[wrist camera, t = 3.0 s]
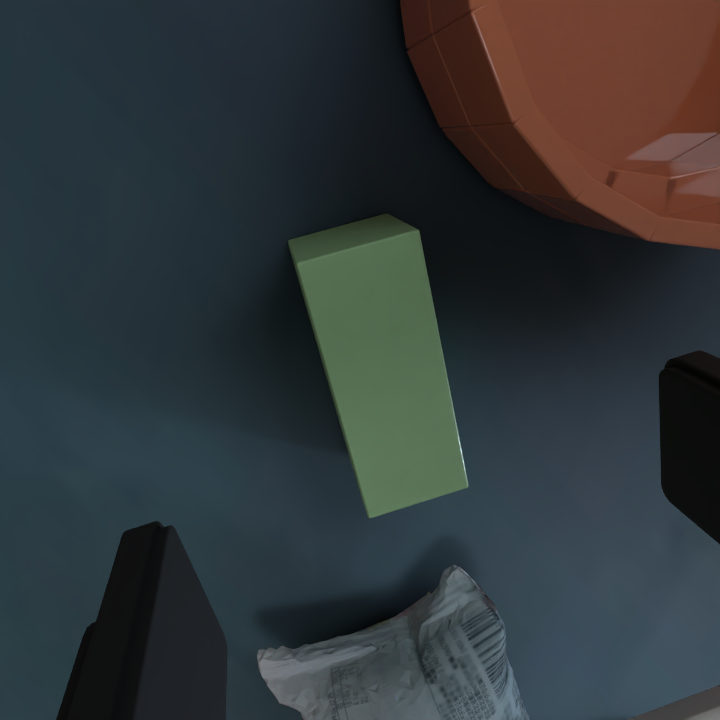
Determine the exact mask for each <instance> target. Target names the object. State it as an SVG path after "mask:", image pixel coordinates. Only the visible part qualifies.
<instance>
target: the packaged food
mask: <svg viewBox="0 0 720 720" xmlns="http://www.w3.org/2000/svg"><path fill="white" fill-rule="evenodd" d="M257 659H258V668H259V671H260V673H261V675H262V678H263V679H264V680H265V682H266V683H267V686H268V687H269V689H270V690H271V691H272V693H273V694H274V695H275V697H276V698H277V700H278V701H279V703H281V704H284V705H286V706H289V707H292V708H294V709H296V710H298V711H299V712H300V713H301V716H302V718H303V720H530V719H529V716H528V714H527V713H526V710H525V706H524V703H523V701H522V699H521V696H520V694H519V689H518V686H517V683H516V680H515V678H514V675H513V669H512V668H511V666H510V663H509V660H508V658H507V654H506V633H505V624H504V622H503V620H502V619H501V617H500V615H499V613H498V611H497V609H496V607H495V605H494V603H493V602H492V601H491V600H490V599H489V598H488V597H487V596H486V595H485V594H484V592H483V591H482V589H481V587H480V586H479V585H478V584H477V583H476V582H475V581H474V580H473V579H472V578H471V577H470V576H469V575H468V574H467V573H466V572H465V571H464V570H463V569H462V568H460V567H458V566H456V565H454V564H453V565H452V566H451V567H449V568H448V569H446V570H444V571H443V574H442V577H441V580H440V583H439V585H438V587H437V588H436V589H435V590H434V591H433V592H432V593H430V591H429V592H427V594H426V596H424V597H423V598H421V599H420V600H418V601H417V602H416V603H414V604H413V605H412V606H410V607H409V608H407V609H406V610H404V611H403V612H401V613H400V614H398V615H397V616H395V617H393V618H391V619H388V620H385V621H383V622H380V623H377V624H374V625H372V626H370V627H368V628H366V629H363V630H358V631H357V632H355V633H353V634H349V635H344V636H337V637H335V638H332V639H329V640H326V641H321V642H317V643H314V644H310V645H309V644H304V645H303V646H301V647H299V648H296V649H290V648H287V647H284V646H281V647H280V648H278V649H277V650H275V649H273V648H271V647H270V648H268V649H267V650H262V649H261V650H259V651H258V654H257Z"/></svg>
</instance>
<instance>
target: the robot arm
mask: <svg viewBox="0 0 720 720" xmlns="http://www.w3.org/2000/svg"><path fill="white" fill-rule="evenodd" d="M659 404H660V449H661V485H662V489H663V492H664V494H665V496H666V497H667V499H668V500H669V501H670V502H671V503H672V504H673V505H674V506H675V507H676V508H677V509H679V510H680V511H681V512H682V513H683V514H685V515H686V516H687V517H688V518H689V519H691V520H692V521H693V522H694V523H695V524H696V525H698V526H699V527H700V528H701V529H702V530H704V531H705V532H706V533H707V534H708V535H709V536H711V537H712V538H713V539H714V540H715V541H717V542H718V543H719V544H720V359H719V358H717V357H715V356H713V355H711V354H709V353H706V352H703V351H695V352H692V353H689V354H686V355H682V356H679V357H676V358H673V359H670V360H669V361H667V363H666V365H665V369H663V370H662V371H661V372H660V374H659ZM226 682H227V646H226V640H225V637H224V633H223V631H222V629H221V627H220V624H219V622H218V620H217V618H216V616H215V614H214V611H213V609H212V607H211V605H210V603H209V601H208V598H207V596H206V594H205V592H204V590H203V588H202V586H201V583H200V581H199V579H198V577H197V575H196V573H195V570H194V568H193V566H192V564H191V562H190V560H189V557H188V555H187V553H186V551H185V549H184V547H183V545H182V542H181V540H180V538H179V536H178V534H177V532H176V530H175V528H174V527H173V526H171V525H170V526H167V527H163V525H162V524H161V523H160V522H158V521H155V522H152V523H149V524H146V525H142V526H139V527H136V528H133V529H130V530H127V531H125V532H124V533H123V535H122V538H121V541H120V544H119V547H118V551H117V554H116V557H115V561H114V564H113V567H112V571H111V574H110V577H109V581H108V584H107V587H106V590H105V594H104V597H103V600H102V604H101V607H100V610H99V614H98V617H97V620H96V622H94V623H92V624H91V625H90V626H89V627H87V629H86V631H85V633H84V635H83V638H82V641H81V644H80V647H79V650H78V654H77V657H76V660H75V663H74V666H73V669H72V672H71V676H70V679H69V682H68V685H67V688H66V691H65V694H64V697H63V701H62V704H61V707H60V710H59V713H58V716H57V719H56V720H225V719H226ZM628 720H720V685H719V686H716V687H714V688H711V689H708V690H705V691H703V692H700V693H697V694H695V695H692V696H689V697H687V698H684V699H681V700H679V701H676V702H673V703H671V704H668V705H665V706H663V707H660V708H657V709H655V710H652V711H649V712H647V713H644V714H641V715H639V716H636V717H633V718H631V719H628Z"/></svg>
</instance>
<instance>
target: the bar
mask: <svg viewBox="0 0 720 720" xmlns="http://www.w3.org/2000/svg"><path fill="white" fill-rule="evenodd" d="M288 246H289V249H290V253H291V256H292V259H293V263H294V266H295V270H296V273H297V277H298V280H299V284H300V287H301V291H302V294H303V298H304V301H305V305H306V308H307V312H308V315H309V319H310V322H311V326H312V329H313V333H314V336H315V340H316V343H317V346H318V350H319V353H320V357H321V360H322V364H323V367H324V371H325V374H326V378H327V381H328V385H329V388H330V392H331V395H332V399H333V402H334V406H335V409H336V413H337V416H338V420H339V423H340V427H341V430H342V433H343V437H344V440H345V444H346V447H347V451H348V454H349V458H350V461H351V464H352V468H353V471H354V474H355V477H356V480H357V484H358V487H359V490H360V493H361V497H362V500H363V503H364V506H365V509H366V513H367V516H368V518H373V517H376V516H379V515H382V514H385V513H388V512H392V511H395V510H398V509H401V508H404V507H408V506H411V505H414V504H417V503H420V502H423V501H427V500H430V499H433V498H436V497H439V496H443V495H446V494H449V493H452V492H455V491H458V490H462V489H465V488H467V487H468V481H467V476H466V471H465V465H464V460H463V455H462V450H461V445H460V439H459V434H458V429H457V424H456V419H455V414H454V408H453V403H452V398H451V393H450V388H449V382H448V377H447V372H446V367H445V362H444V356H443V351H442V346H441V341H440V336H439V331H438V325H437V320H436V315H435V310H434V305H433V299H432V294H431V289H430V284H429V279H428V274H427V268H426V263H425V258H424V253H423V248H422V242H421V237H420V232H419V230H418V229H416V228H414V227H412V226H410V225H408V224H406V223H405V222H403V221H401V220H399V219H397V218H395V217H393V216H391V215H389V214H382V215H379V216H375V217H371V218H368V219H364V220H360V221H357V222H353V223H349V224H346V225H342V226H338V227H335V228H331V229H327V230H324V231H320V232H316V233H313V234H309V235H305V236H301V237H298V238H294V239H290V240H288Z"/></svg>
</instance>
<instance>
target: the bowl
mask: <svg viewBox="0 0 720 720" xmlns="http://www.w3.org/2000/svg"><path fill="white" fill-rule="evenodd" d="M400 5H401V13H402V20H403V28H404V35H405V43H406V47H407V49H408V50H407V53H408V55H409V58H410V60H411V62H412V65H413V67H414V69H415V71H416V74H417V76H418V78H419V81H420V83H421V85H422V88H423V90H424V92H425V94H426V97H427V99H428V101H429V104H430V106H431V108H432V111H433V113H434V115H435V117H436V120H437V122H438V124H439V127H440V128H443V129H442V130H443V132H444V133H445V135H446V136H447V137H448V138H449V139H450V140H451V141H452V142H453V144H454V145H455V146H456V147H457V148H458V149H459V150H460V151H461V153H462V154H463V155H464V156H465V157H466V158H467V159H468V161H469V162H470V163H471V164H472V165H473V166H474V167H475V168H476V170H477V171H478V172H479V173H480V174H481V175H482V176H483V177H484V179H485V180H486V181H487V182H488V183H489V184H491V186H492V187H494V188H496V189H498V190H500V191H502V192H504V193H505V194H507V195H509V196H511V197H513V198H515V199H517V200H518V201H520V202H522V203H524V204H526V205H528V206H530V207H532V208H533V209H535V210H537V211H539V212H541V213H543V214H545V215H547V216H549V217H553V218H557V219H561V220H565V221H569V222H573V223H577V224H581V225H585V226H589V227H594V228H597V229H601V230H605V231H609V232H613V233H617V234H621V235H625V236H629V237H633V238H637V239H641V240H646V241H650V242H657V243H666V244H674V245H682V246H691V247H699V248H708V249H716V250H720V0H400Z"/></svg>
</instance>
